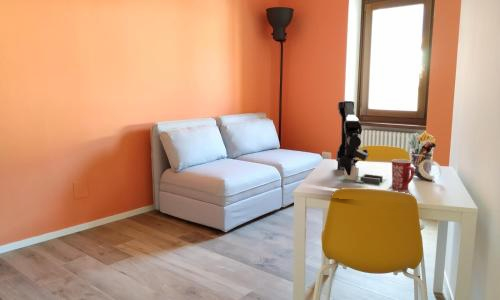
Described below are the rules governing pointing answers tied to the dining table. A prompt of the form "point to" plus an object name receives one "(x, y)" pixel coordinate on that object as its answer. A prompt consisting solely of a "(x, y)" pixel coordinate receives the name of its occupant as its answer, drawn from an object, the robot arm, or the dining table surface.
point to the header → (371, 178)
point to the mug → (401, 174)
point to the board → (361, 181)
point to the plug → (353, 173)
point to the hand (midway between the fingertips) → (350, 174)
